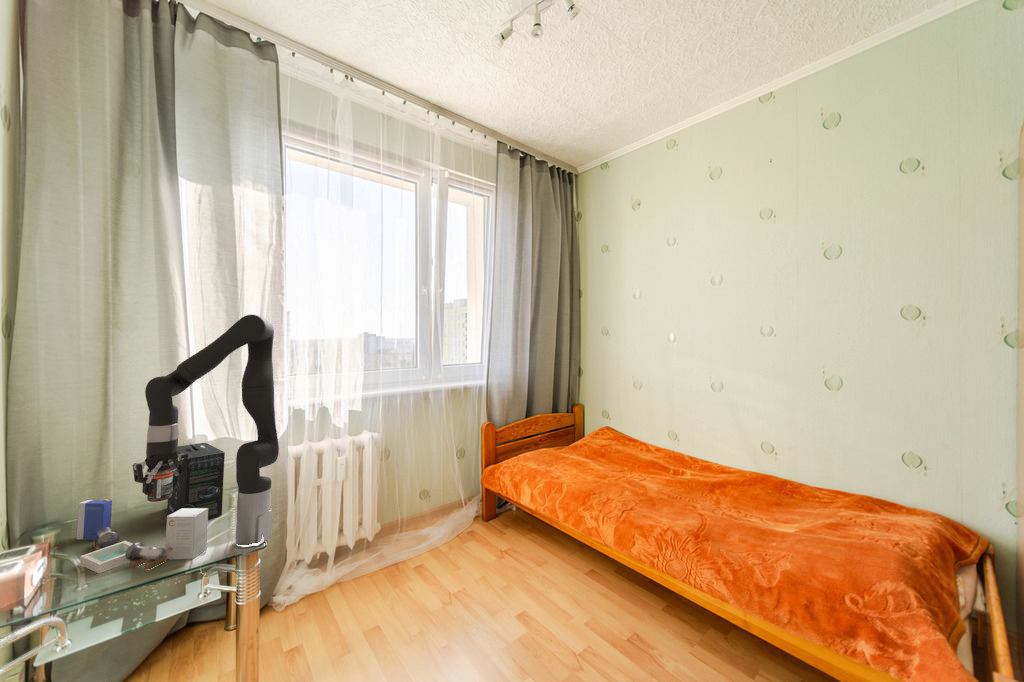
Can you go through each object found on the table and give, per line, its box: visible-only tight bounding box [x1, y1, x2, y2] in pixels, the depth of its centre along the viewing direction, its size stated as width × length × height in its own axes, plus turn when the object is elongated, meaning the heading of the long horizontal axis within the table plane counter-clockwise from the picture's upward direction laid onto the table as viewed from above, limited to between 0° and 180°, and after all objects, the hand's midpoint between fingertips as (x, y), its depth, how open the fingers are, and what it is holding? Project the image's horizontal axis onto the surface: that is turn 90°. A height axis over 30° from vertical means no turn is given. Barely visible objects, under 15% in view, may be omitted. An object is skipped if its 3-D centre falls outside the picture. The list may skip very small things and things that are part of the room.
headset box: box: [167, 442, 226, 520], centre depth 150 cm, size 22×12×26 cm, turn 53°
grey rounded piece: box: [125, 541, 167, 570], centre depth 115 cm, size 9×5×6 cm, turn 83°
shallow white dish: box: [79, 540, 133, 574], centre depth 116 cm, size 10×10×2 cm
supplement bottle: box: [146, 463, 173, 503], centre depth 125 cm, size 6×6×11 cm
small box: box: [164, 508, 209, 560], centre depth 121 cm, size 8×6×13 cm
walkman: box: [76, 498, 113, 540], centre depth 128 cm, size 8×3×12 cm, turn 94°
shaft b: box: [92, 527, 120, 551], centre depth 123 cm, size 9×5×6 cm, turn 53°
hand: (160, 490), depth 125 cm, fingers closed on supplement bottle, 6 cm apart
